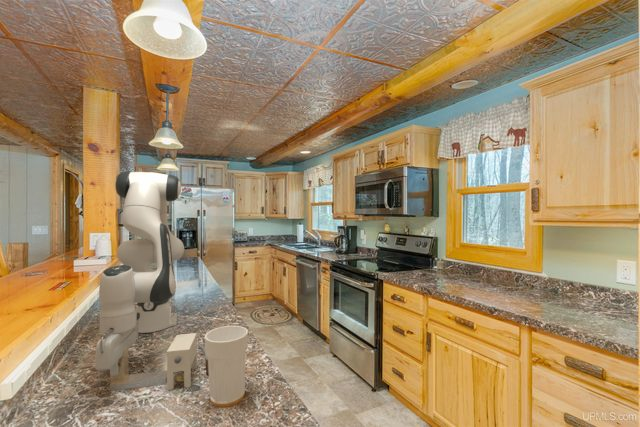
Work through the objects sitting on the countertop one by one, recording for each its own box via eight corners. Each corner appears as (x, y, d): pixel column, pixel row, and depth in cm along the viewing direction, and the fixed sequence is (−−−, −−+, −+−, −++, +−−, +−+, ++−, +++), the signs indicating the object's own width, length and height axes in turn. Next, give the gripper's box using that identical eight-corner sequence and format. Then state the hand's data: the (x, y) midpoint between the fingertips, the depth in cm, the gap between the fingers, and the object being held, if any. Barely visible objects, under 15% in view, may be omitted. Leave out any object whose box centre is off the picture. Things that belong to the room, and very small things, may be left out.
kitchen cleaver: (233, 369, 96) (199, 374, 93) (233, 372, 96) (199, 377, 93) (226, 340, 119) (198, 343, 115) (225, 342, 119) (198, 346, 115)
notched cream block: (177, 368, 98) (176, 334, 98) (197, 366, 99) (196, 333, 99) (166, 392, 85) (165, 353, 85) (189, 389, 87) (188, 350, 87)
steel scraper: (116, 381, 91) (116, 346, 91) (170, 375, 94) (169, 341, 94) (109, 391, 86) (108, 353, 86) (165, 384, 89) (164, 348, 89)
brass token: (177, 375, 94) (177, 373, 94) (192, 374, 95) (192, 371, 95) (173, 383, 90) (173, 381, 90) (189, 381, 91) (189, 379, 91)
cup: (253, 384, 89) (252, 325, 88) (242, 410, 77) (241, 342, 77) (215, 384, 89) (214, 325, 89) (198, 409, 78) (197, 342, 77)
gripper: (114, 335, 79) (115, 388, 79) (142, 310, 99) (143, 352, 99) (86, 338, 78) (87, 391, 78) (120, 312, 98) (121, 354, 98)
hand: (119, 369), depth 89 cm, fingers closed on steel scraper, 3 cm apart
